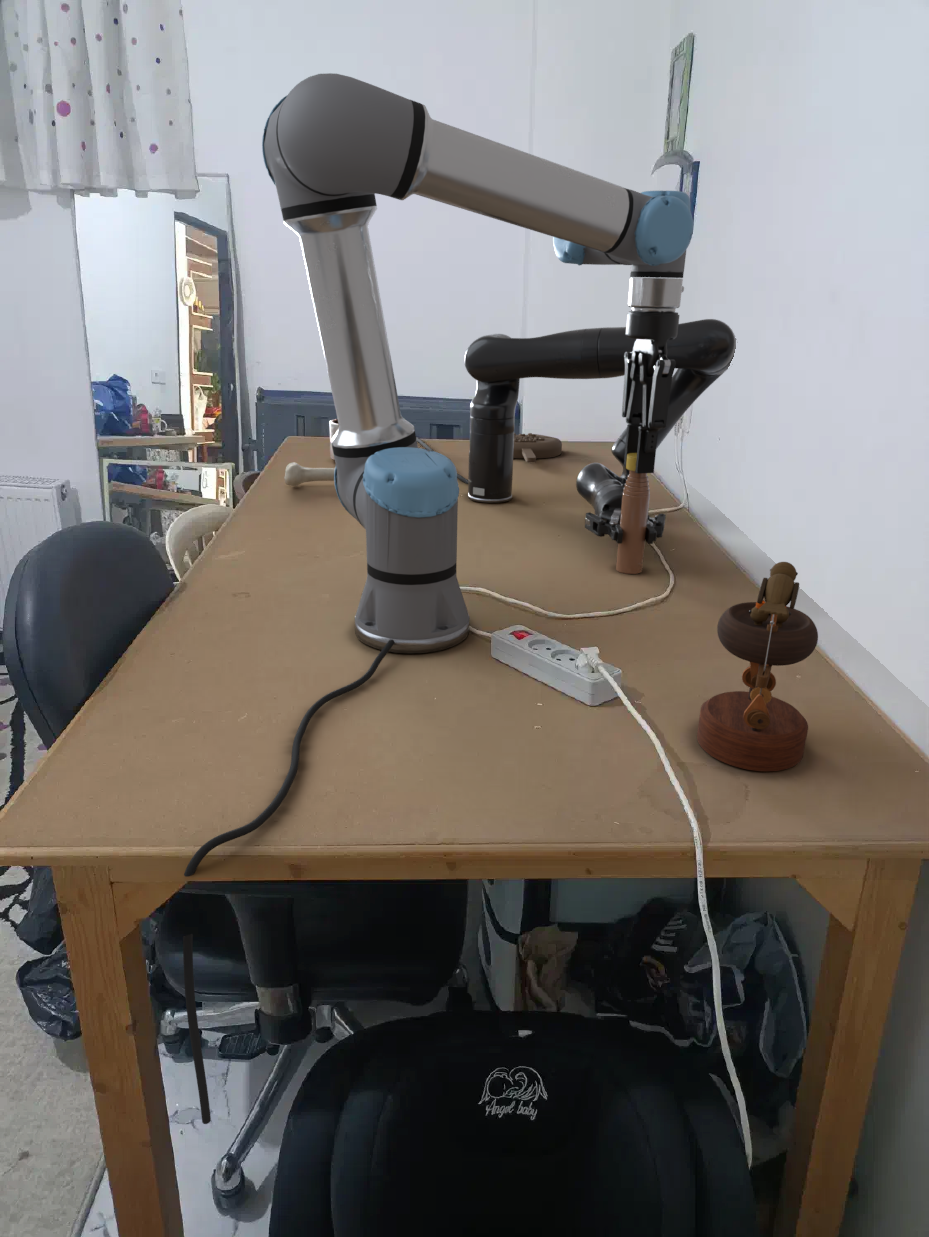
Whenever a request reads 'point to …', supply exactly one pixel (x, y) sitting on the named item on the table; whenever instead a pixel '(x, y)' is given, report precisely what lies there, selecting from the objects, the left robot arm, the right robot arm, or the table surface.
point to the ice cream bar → (535, 447)
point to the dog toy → (306, 474)
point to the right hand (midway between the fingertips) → (635, 537)
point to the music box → (760, 680)
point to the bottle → (633, 523)
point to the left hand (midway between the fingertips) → (638, 469)
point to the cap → (631, 461)
